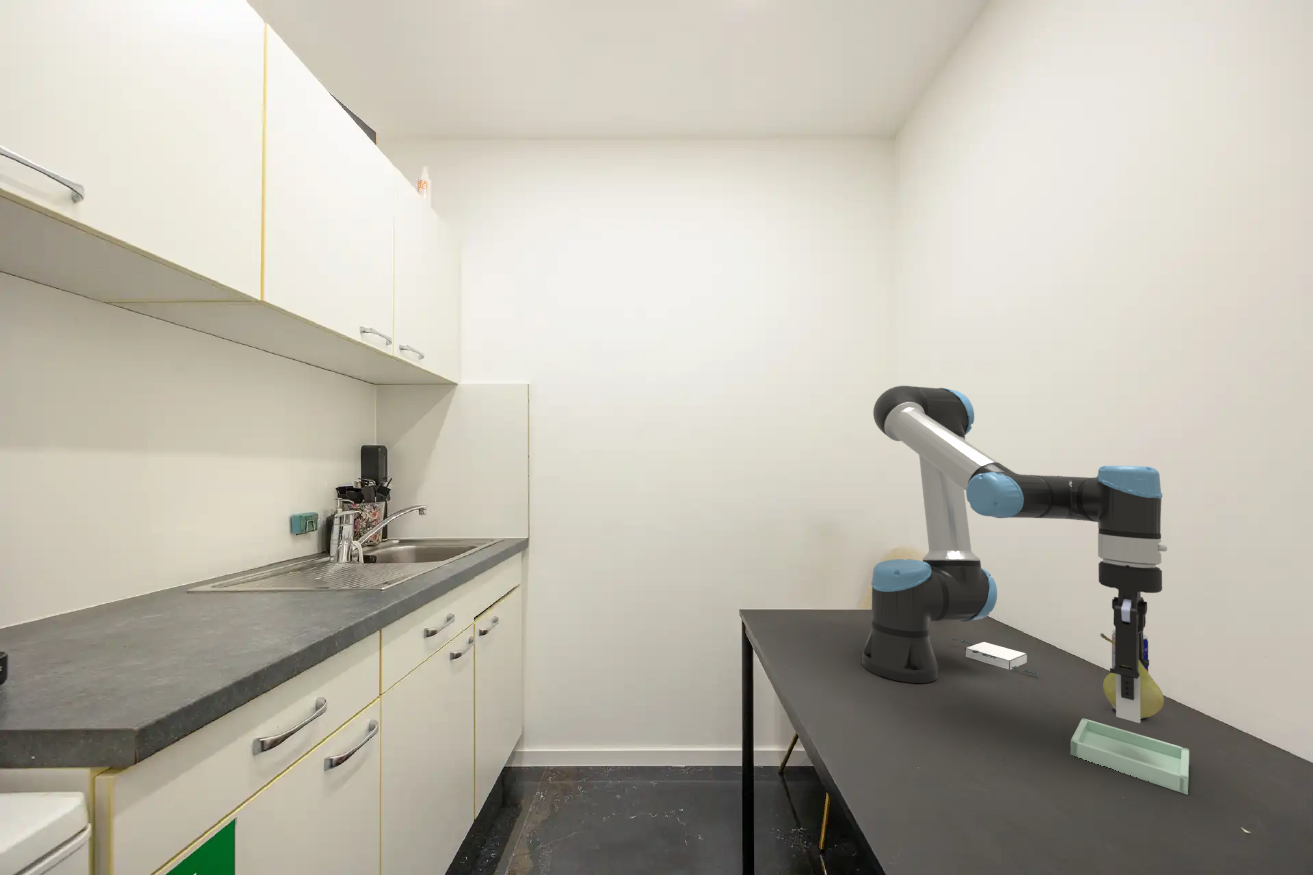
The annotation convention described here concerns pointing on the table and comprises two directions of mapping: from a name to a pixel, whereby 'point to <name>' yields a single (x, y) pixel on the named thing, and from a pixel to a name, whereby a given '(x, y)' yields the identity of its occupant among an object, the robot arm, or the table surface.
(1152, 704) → the fruit
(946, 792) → the table surface
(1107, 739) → the tray
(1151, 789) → the table surface
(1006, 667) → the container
